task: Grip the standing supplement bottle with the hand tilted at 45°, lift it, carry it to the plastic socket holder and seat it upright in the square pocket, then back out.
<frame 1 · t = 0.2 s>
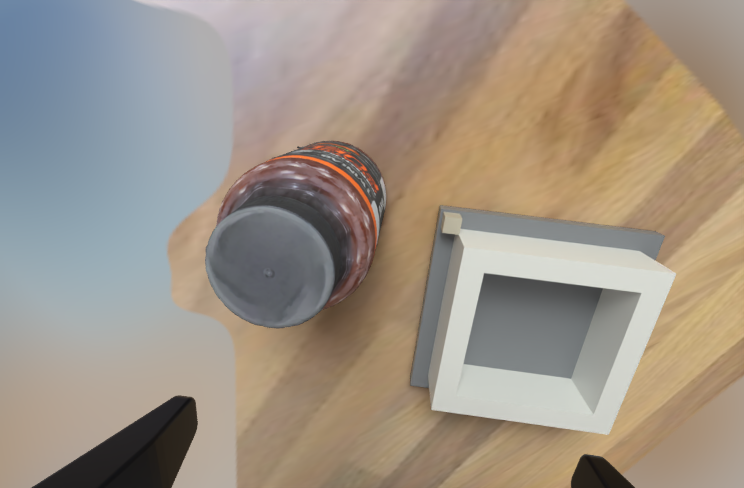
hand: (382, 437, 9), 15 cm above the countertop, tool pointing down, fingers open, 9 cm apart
socket holder: (520, 311, 23), on the countertop
supplement bottle: (335, 191, 22), on the countertop
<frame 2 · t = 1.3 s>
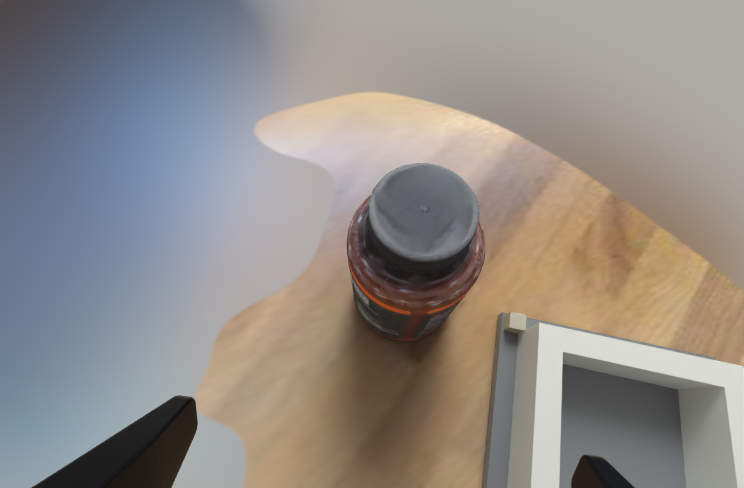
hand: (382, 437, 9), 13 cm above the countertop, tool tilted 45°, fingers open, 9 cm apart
socket holder: (599, 447, 21), on the countertop
supplement bottle: (401, 295, 24), on the countertop
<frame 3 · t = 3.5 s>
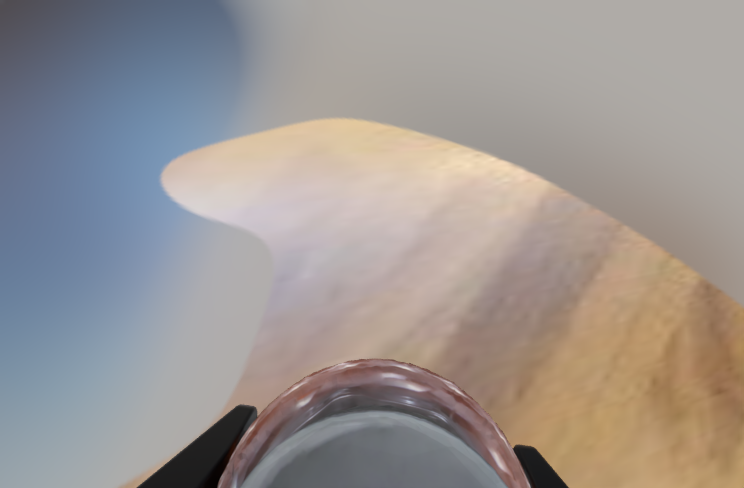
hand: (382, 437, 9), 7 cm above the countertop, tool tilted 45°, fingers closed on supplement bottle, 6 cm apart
supplement bottle: (373, 464, 15), on the countertop, touching gripper
when the fingers open (9 cm above the countertop, at t = 7.8 s): supplement bottle drops 1 cm, resting on socket holder.
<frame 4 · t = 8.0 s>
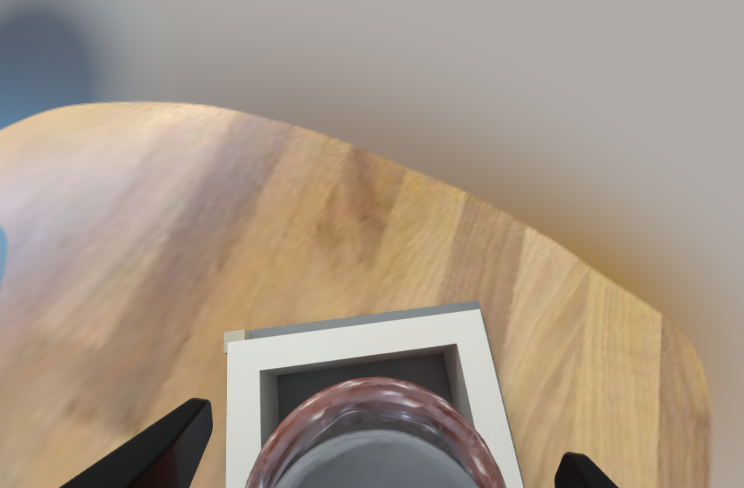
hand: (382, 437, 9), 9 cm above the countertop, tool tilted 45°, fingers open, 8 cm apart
socket holder: (372, 456, 17), on the countertop
supplement bottle: (373, 461, 16), point 1 cm above the countertop, touching socket holder
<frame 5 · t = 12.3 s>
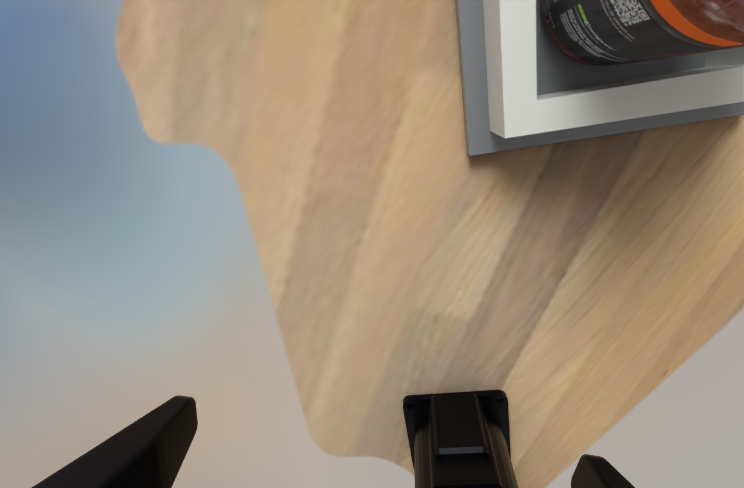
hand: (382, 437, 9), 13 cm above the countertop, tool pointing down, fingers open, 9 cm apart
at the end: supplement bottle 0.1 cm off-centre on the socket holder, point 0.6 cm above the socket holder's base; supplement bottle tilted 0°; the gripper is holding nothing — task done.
